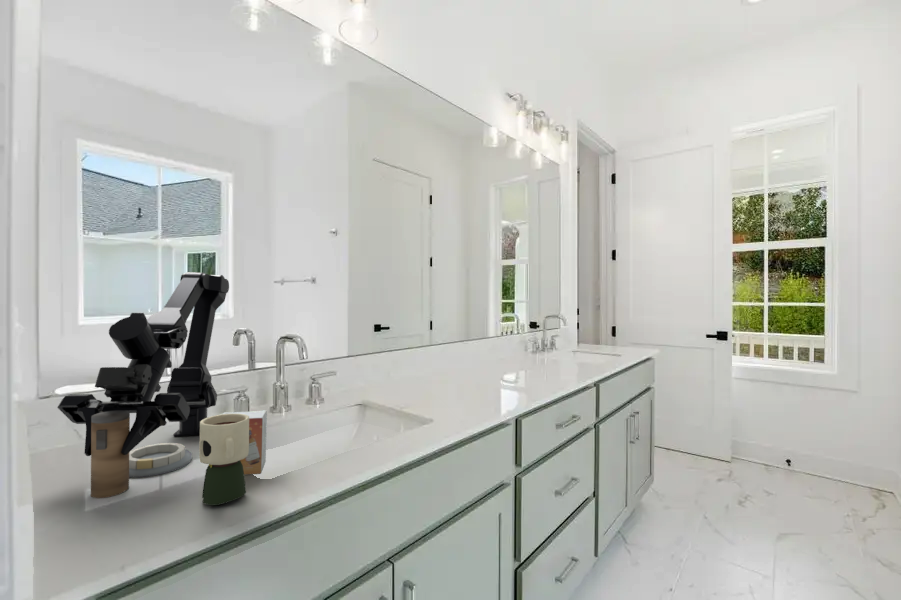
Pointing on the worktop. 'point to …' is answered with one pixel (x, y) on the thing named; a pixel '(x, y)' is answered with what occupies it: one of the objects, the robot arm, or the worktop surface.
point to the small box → (255, 442)
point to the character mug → (224, 456)
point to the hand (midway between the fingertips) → (105, 454)
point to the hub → (158, 459)
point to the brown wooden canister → (109, 453)
